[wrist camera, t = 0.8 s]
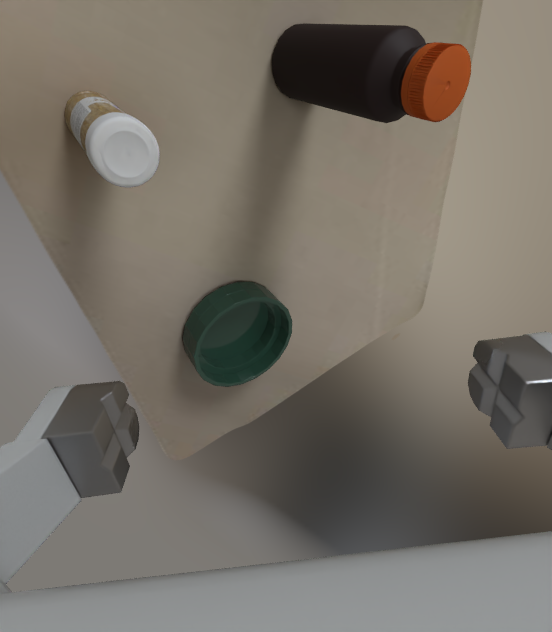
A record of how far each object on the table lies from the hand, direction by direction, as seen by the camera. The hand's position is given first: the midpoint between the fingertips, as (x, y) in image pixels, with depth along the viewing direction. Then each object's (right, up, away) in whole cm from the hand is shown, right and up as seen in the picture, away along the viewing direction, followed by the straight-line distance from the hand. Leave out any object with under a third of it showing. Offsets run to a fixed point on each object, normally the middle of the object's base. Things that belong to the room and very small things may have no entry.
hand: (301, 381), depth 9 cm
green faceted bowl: (-7, 0, +48) cm, 49 cm away
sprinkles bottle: (-17, +20, +26) cm, 37 cm away
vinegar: (+2, +29, +33) cm, 44 cm away
